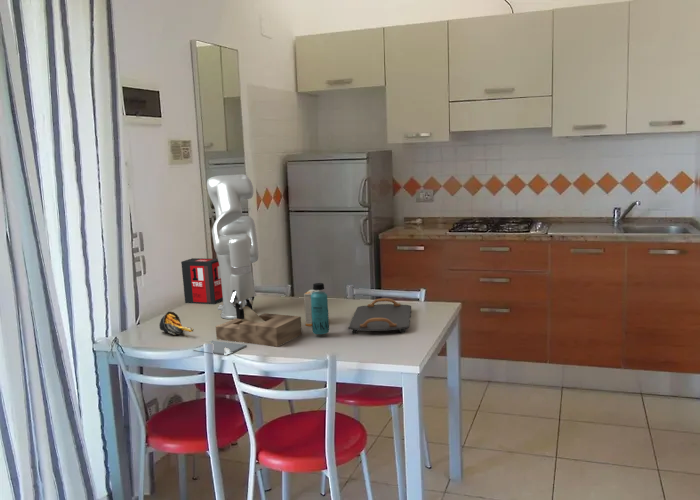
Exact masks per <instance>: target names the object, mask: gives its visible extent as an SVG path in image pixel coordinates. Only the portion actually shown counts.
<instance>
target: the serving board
mask: <svg viewBox="0 0 700 500" xmlns="http://www.w3.org/2000/svg"><path fill="white" fill-rule="evenodd" d="M381 302H388V303H381ZM389 302H390V303H389ZM377 303H378V304H377ZM379 303H380V304H379ZM411 313H412V305H410V304H402V303H400V302H399V303H398V302H397V301H396V300H394V299H393V298H386V297H383V298H376V299H374V300H373V301H372V302H371V303H367V305H360V306H357V307H356V309H355V312H354V314H353V316H352V319H351V320H350V323H349V325H348V330H351V334H353V335H356V334H358V331H364V332H371V331H372V332H376V331H377V332H382V331H396V330H399V333H401V334H405V333H406V332H407V331H406V329H408V328H410V322H411V320H410V319H411V317H412V315H411Z"/></svg>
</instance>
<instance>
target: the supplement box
mask: <svg viewBox="0 0 700 500" xmlns="http://www.w3.org/2000/svg"><path fill="white" fill-rule="evenodd" d="M318 291H321V290H313V289H308V290H307V291H306V292H305V293H303V298H304V299H303V302H304V315H305V317H304V318H305V326H306V327H312V317H311V315H312V312H311V295H312V293H314V292H318Z"/></svg>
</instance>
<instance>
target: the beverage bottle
mask: <svg viewBox="0 0 700 500" xmlns="http://www.w3.org/2000/svg"><path fill="white" fill-rule="evenodd" d="M312 290H320V291H318V292H314V293H312V295H311V312H312V315H311V317H312V326H311V329H312V330H311V331H312V333H313V334H315V335H324V334H325V335H326V334H328V333H329V332H330V319H329V317H330V316H329V304H328V303H329V302H328V294H327V293H326V292H325V291H322V290H325V285H324V283H322V282H315V283H313V284H312Z"/></svg>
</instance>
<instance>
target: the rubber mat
mask: <svg viewBox="0 0 700 500" xmlns="http://www.w3.org/2000/svg"><path fill="white" fill-rule="evenodd" d="M209 342H211V343H213V344H214V350H213V353H214V354H213V355H219V356H225V355H224V348H225V347H226V348H229V349H230V350H231V352H233V353H232V354H234V353H236V352H238V351H240V350H243V349H245V348H247V346H248V345H247V344H245V343H244V344H243V343H242V344H240V343H235V342H229V341H228V342H225V341H219V340H211V341H209ZM201 346H203V344H201V345H199V346H196V347H195V348H198V347H201ZM244 347H245V348H244ZM242 348H243V349H242Z"/></svg>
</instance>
